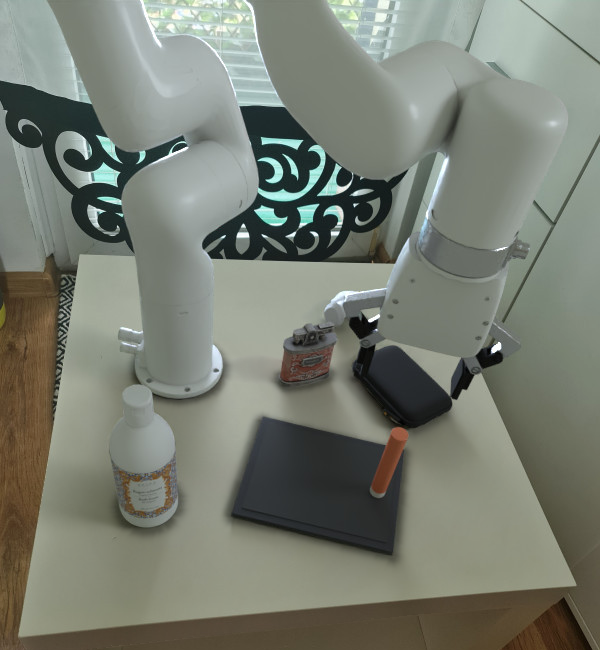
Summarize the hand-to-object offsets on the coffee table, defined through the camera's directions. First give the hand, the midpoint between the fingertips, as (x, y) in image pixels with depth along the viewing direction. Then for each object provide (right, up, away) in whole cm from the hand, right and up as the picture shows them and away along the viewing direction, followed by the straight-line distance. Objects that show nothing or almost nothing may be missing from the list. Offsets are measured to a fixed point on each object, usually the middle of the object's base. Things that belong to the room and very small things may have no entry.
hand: (408, 378), depth 65 cm
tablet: (-9, -13, +15) cm, 22 cm away
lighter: (-11, +1, +28) cm, 30 cm away
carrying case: (+3, -1, +28) cm, 28 cm away
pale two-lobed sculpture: (-5, +12, +38) cm, 40 cm away
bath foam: (-30, -15, +10) cm, 35 cm away
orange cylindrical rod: (-2, -14, +14) cm, 20 cm away
